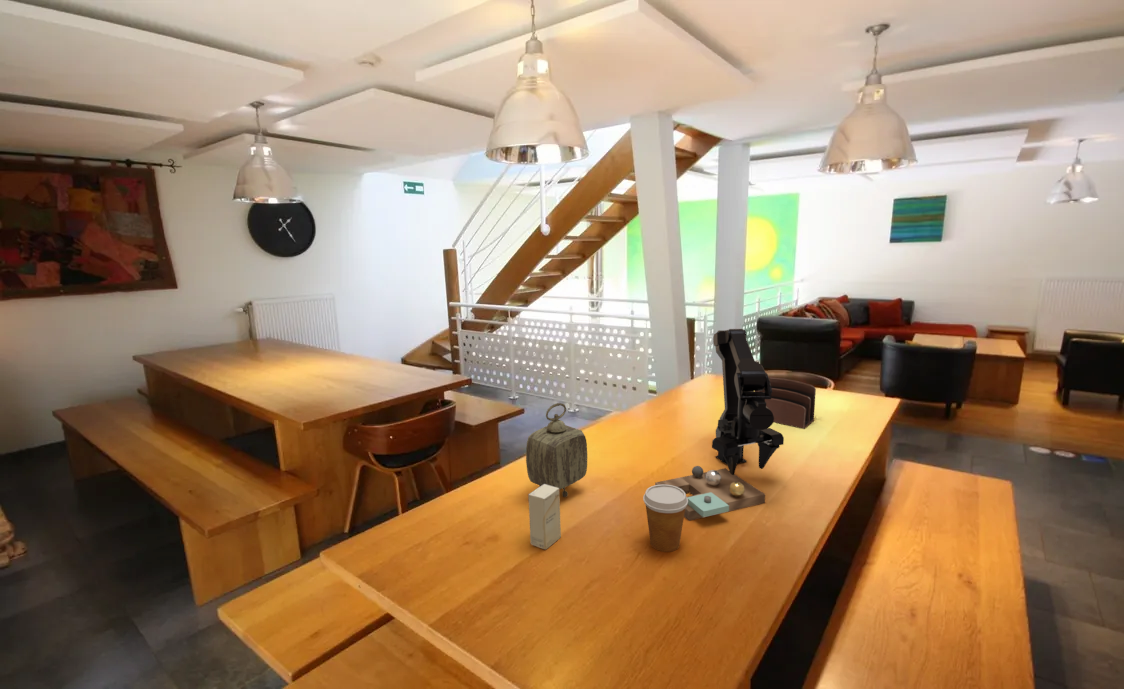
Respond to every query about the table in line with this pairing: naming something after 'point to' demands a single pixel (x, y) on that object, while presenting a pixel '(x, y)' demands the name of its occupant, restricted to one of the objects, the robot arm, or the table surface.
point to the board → (716, 491)
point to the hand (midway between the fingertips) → (746, 471)
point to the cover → (707, 504)
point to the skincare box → (544, 516)
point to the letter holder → (791, 402)
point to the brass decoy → (736, 489)
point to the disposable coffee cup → (665, 515)
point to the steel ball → (713, 477)
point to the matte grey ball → (697, 471)
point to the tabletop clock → (556, 454)
